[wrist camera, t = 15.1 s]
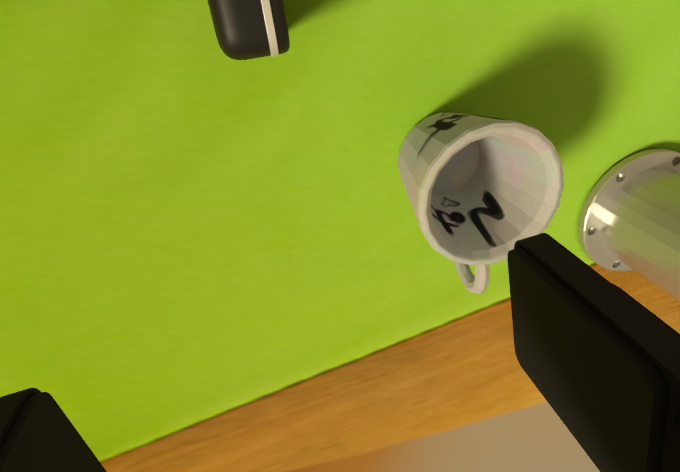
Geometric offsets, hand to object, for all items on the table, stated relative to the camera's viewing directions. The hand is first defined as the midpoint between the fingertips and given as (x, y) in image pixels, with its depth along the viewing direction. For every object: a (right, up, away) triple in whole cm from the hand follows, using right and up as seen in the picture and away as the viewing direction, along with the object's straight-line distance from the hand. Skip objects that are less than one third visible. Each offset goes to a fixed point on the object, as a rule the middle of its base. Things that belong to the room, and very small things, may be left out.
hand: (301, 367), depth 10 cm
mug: (+10, +8, +33) cm, 35 cm away
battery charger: (-6, +20, +24) cm, 31 cm away
